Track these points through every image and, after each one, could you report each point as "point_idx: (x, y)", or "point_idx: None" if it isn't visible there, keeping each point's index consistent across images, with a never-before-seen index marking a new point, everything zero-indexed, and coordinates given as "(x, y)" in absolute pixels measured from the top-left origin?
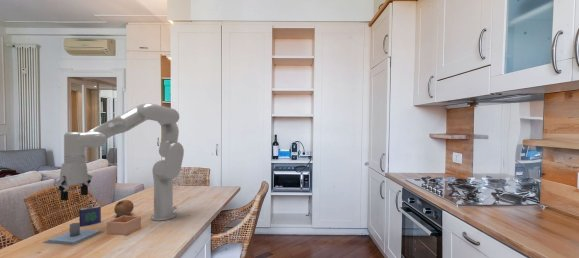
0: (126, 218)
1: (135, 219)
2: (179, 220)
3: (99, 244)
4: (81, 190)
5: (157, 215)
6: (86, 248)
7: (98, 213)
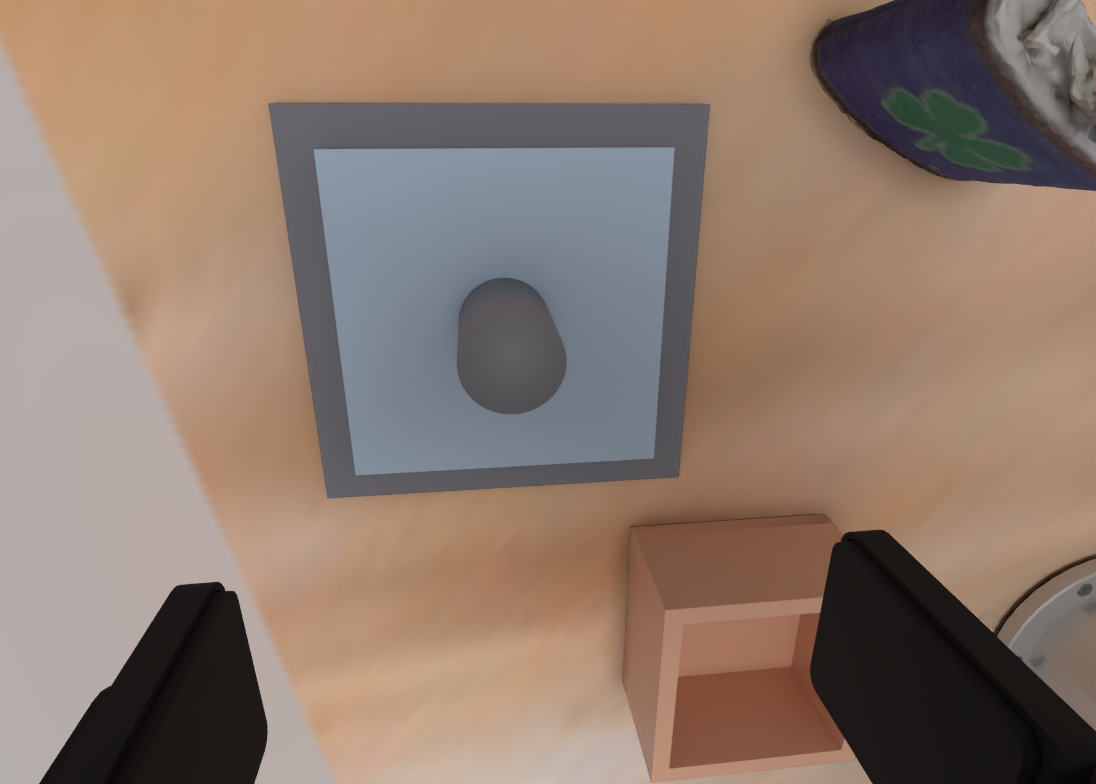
0: None
1: (777, 763)
2: None
3: (435, 633)
4: (914, 652)
5: (1047, 673)
6: (341, 610)
7: (1043, 182)
